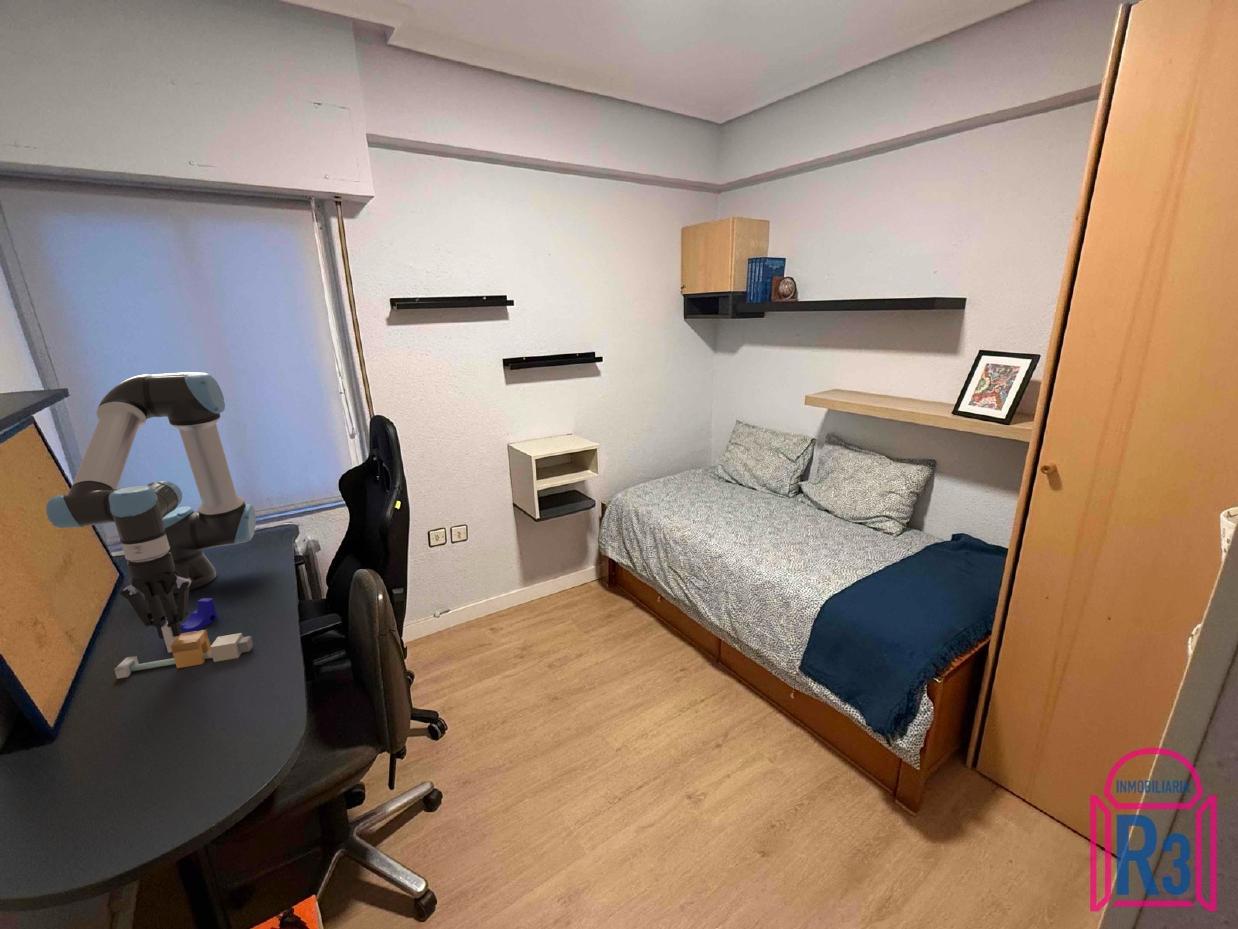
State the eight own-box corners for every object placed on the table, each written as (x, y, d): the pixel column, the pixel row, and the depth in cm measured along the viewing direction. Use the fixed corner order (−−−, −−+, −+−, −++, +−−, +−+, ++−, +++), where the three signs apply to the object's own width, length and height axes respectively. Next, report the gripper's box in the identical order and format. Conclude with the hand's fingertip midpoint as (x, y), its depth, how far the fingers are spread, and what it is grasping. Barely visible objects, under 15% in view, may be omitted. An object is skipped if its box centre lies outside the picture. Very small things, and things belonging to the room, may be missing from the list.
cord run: (116, 678, 119) (111, 663, 118) (128, 666, 123) (123, 651, 122) (248, 656, 126) (244, 641, 125) (255, 645, 130) (251, 631, 129)
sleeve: (177, 668, 122) (170, 645, 120) (187, 655, 127) (181, 633, 125) (202, 664, 123) (196, 641, 122) (211, 651, 128) (206, 629, 126)
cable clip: (202, 617, 144) (197, 598, 142) (217, 618, 143) (212, 598, 142) (161, 643, 133) (154, 622, 131) (176, 644, 132) (171, 623, 130)
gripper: (102, 567, 112) (131, 663, 118) (175, 558, 115) (200, 652, 121) (123, 553, 119) (150, 645, 125) (191, 545, 122) (214, 634, 128)
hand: (174, 648), depth 123 cm, fingers closed
